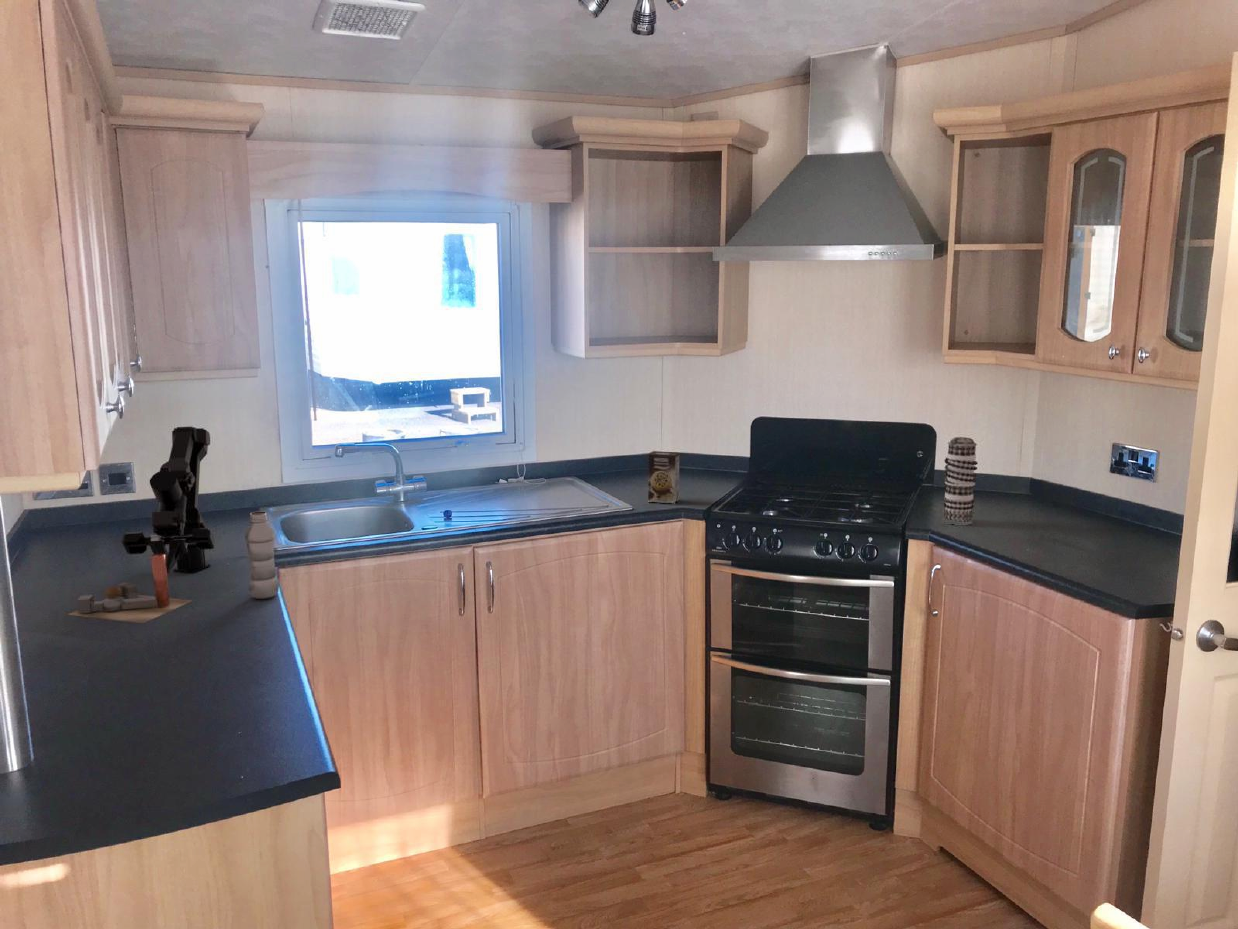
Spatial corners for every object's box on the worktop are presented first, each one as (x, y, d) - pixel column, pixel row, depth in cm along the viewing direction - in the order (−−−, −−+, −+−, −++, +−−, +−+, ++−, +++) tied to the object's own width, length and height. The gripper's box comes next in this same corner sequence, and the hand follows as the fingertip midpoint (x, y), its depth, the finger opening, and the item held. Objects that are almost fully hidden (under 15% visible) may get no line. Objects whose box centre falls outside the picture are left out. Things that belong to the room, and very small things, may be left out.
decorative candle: (938, 524, 288) (943, 439, 283) (944, 517, 296) (948, 435, 291) (971, 527, 284) (976, 442, 279) (976, 520, 292) (981, 437, 287)
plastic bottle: (248, 603, 223) (241, 517, 220) (251, 594, 230) (244, 510, 226) (278, 600, 225) (272, 515, 221) (280, 591, 232) (274, 508, 228)
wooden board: (121, 597, 228) (119, 580, 227) (193, 605, 222) (191, 587, 221) (68, 619, 214) (66, 601, 213) (143, 628, 208) (141, 609, 207)
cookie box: (647, 503, 317) (647, 453, 314) (652, 498, 323) (652, 450, 320) (675, 504, 314) (675, 455, 311) (679, 500, 320) (679, 451, 317)
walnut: (114, 598, 224) (112, 583, 223) (127, 599, 223) (125, 584, 222) (101, 603, 220) (100, 588, 220) (114, 604, 219) (113, 589, 219)
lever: (77, 614, 212) (71, 563, 210) (83, 607, 216) (77, 557, 214) (167, 607, 216) (162, 557, 214) (172, 601, 220) (167, 552, 218)
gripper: (119, 498, 222) (111, 559, 213) (207, 493, 226) (203, 553, 218) (131, 523, 231) (124, 583, 222) (216, 518, 235) (212, 576, 227)
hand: (166, 573), depth 222 cm, fingers closed
